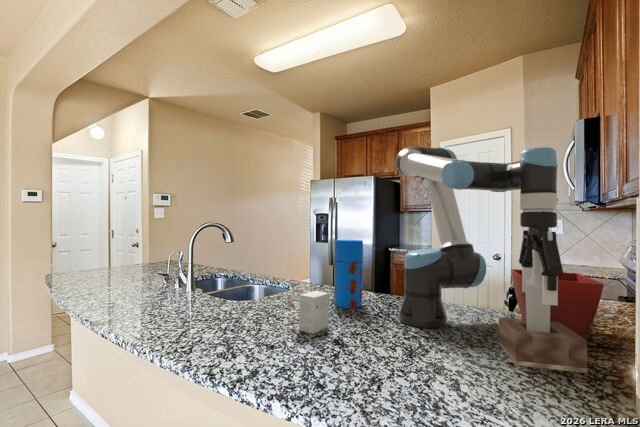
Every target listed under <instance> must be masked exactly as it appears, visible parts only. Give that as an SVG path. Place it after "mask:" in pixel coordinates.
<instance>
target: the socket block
mask: <svg viewBox="0 0 640 427" xmlns="http://www.w3.org/2000/svg"><path fill="white" fill-rule="evenodd" d="M498 344H499V346H500V347H501V348H502V349H503V351H504V352H505V353H506V355H507V356H508V357H509V359H510V360H511V362H513V364H514V365H515V366H519V367H530V368H536V369H537V368H538V369H545V370H546V369H547V370H557V371H565V372H566V371H567V372H574V373H583V374H588V340H587V339H585V338H582V337H581V336H579V335H578V334H576V333H574V332H573V331H571V330H570V329H568V328H567V327H565V326H564V325H562V324H561V323H559V322H551V321H550V333H545V332H534V331H527V324H526V319H523V318H511V317H510V318H509V317H501V316H499V317H498Z"/></svg>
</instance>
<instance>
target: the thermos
mask: <svg viewBox="0 0 640 427" xmlns="http://www.w3.org/2000/svg"><path fill="white" fill-rule="evenodd" d="M363 265H364V241H363V240H361V239H335V244H334V305H335V306H336V307H339V308H344V309H357V308H360V307H362V305H363V289H364V288H363V286H364V284H363V283H364V282H363V281H364V280H363V279H364V278H363V275H364V273H363V272H364V266H363Z"/></svg>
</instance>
